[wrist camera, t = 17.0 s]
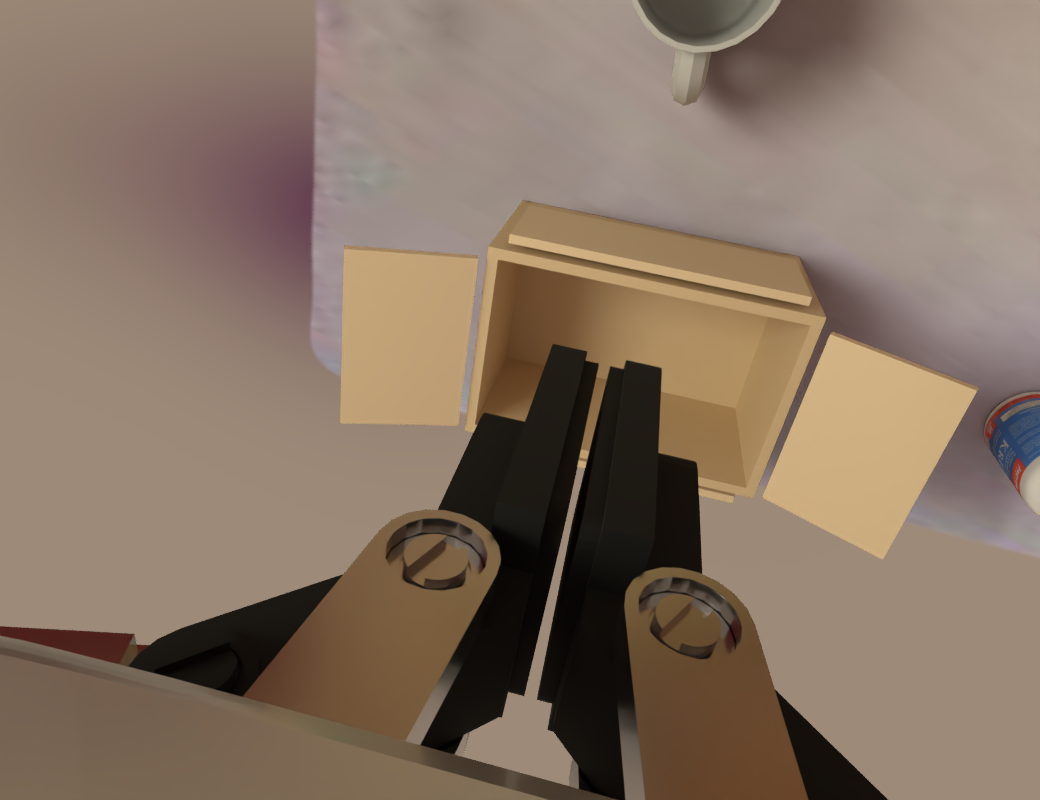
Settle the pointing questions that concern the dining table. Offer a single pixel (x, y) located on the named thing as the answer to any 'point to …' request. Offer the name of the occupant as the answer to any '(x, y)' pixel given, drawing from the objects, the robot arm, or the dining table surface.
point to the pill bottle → (1018, 443)
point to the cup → (700, 34)
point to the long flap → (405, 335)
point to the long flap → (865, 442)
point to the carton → (650, 331)
